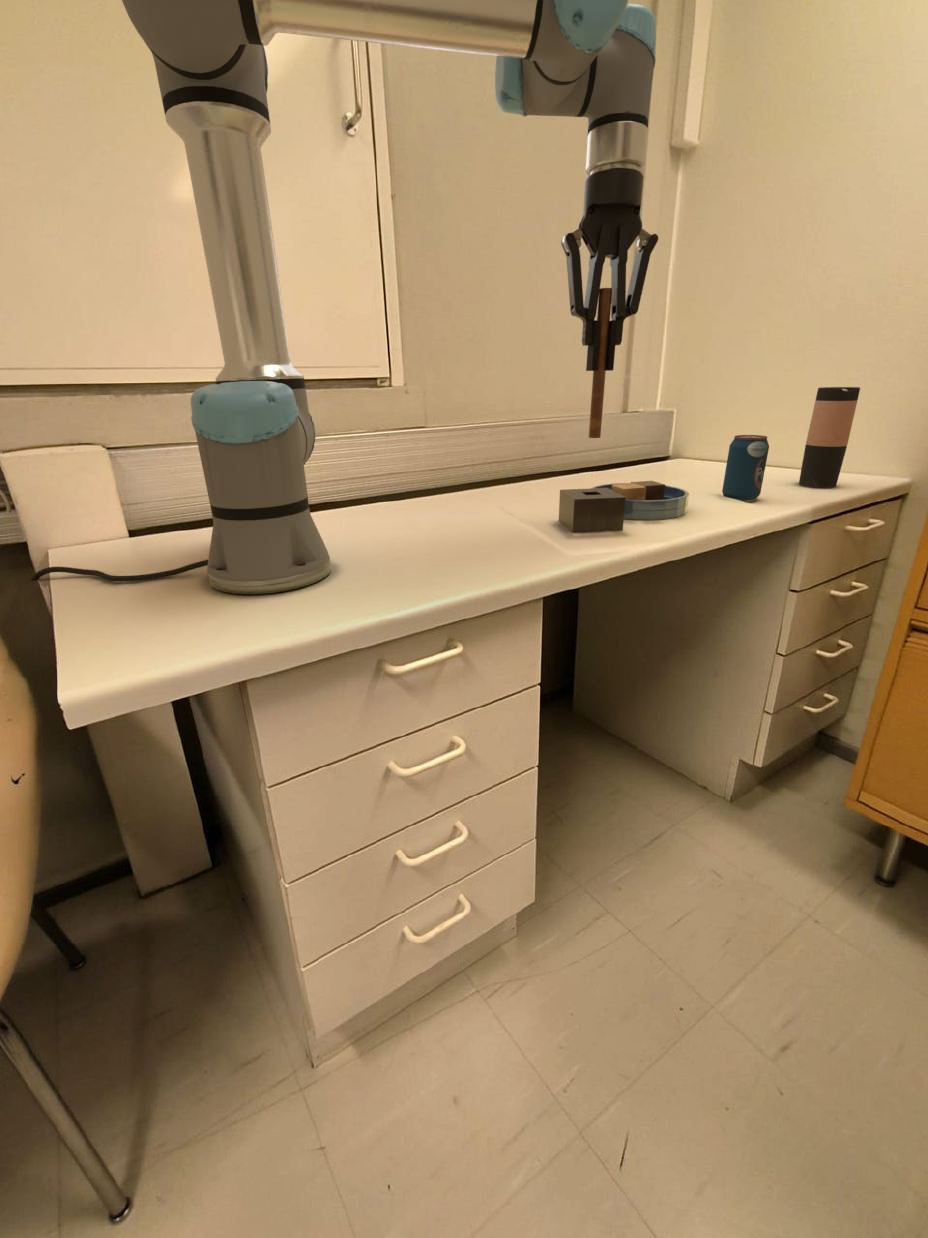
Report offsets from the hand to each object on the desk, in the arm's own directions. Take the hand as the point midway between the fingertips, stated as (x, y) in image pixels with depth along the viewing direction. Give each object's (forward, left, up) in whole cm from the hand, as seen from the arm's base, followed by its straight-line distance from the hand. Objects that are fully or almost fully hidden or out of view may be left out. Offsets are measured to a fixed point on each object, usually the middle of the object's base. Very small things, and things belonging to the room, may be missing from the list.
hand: (599, 370), depth 83 cm
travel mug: (+61, +28, -24) cm, 71 cm away
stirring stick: (0, 0, -9) cm, 9 cm away
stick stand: (0, 0, -24) cm, 24 cm away
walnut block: (+14, +11, -23) cm, 29 cm away
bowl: (+12, +10, -24) cm, 29 cm away
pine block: (+10, +9, -23) cm, 27 cm away
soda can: (+37, +18, -24) cm, 48 cm away
